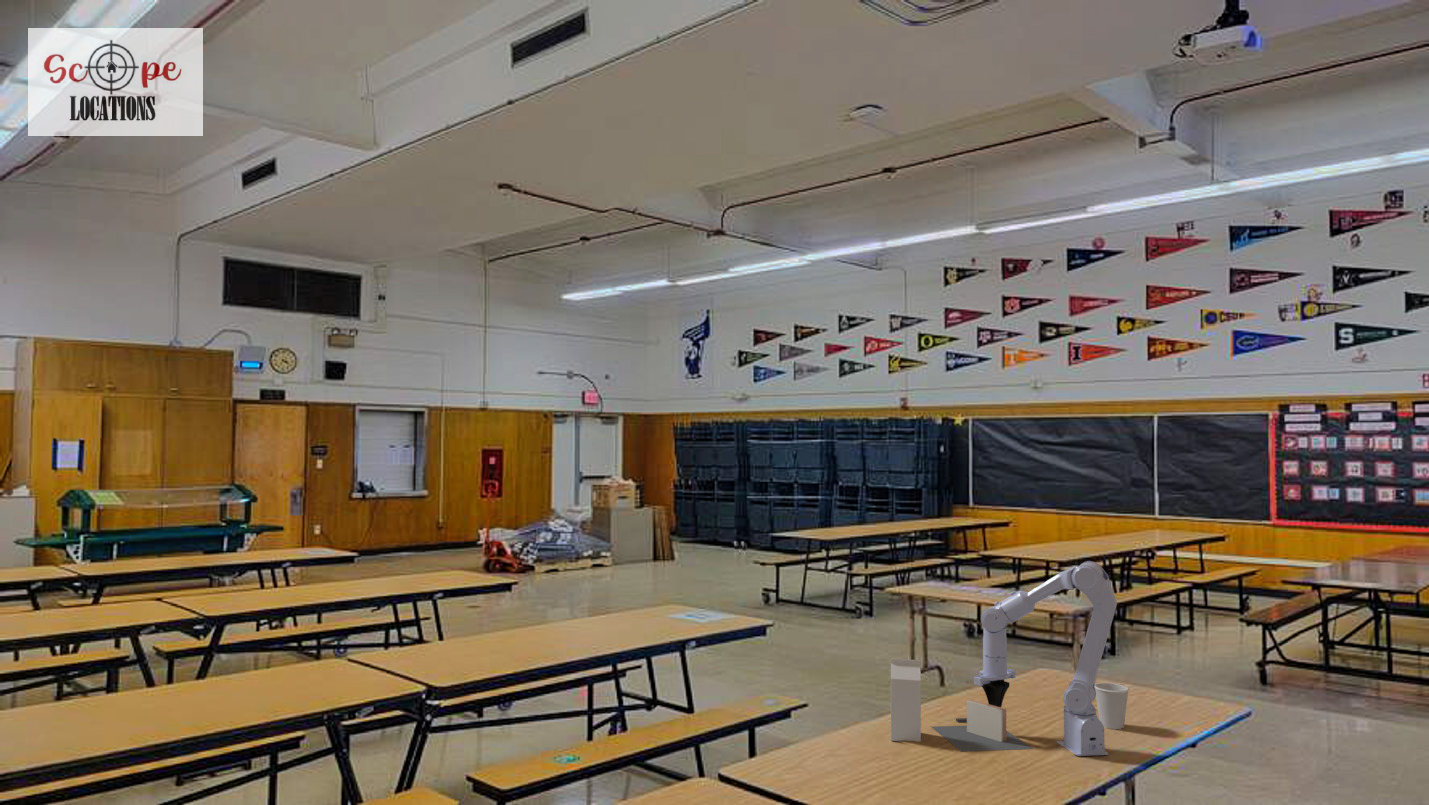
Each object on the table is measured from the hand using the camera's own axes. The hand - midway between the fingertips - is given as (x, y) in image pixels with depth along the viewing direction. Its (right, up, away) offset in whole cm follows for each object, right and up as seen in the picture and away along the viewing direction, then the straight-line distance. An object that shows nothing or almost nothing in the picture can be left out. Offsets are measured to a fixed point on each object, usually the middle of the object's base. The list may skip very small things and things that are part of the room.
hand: (995, 711), depth 224 cm
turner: (-6, -6, +9) cm, 12 cm away
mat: (-5, -6, -4) cm, 8 cm away
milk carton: (-23, -6, -3) cm, 24 cm away
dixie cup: (+33, -7, +8) cm, 35 cm away
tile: (-3, -5, -3) cm, 7 cm away
